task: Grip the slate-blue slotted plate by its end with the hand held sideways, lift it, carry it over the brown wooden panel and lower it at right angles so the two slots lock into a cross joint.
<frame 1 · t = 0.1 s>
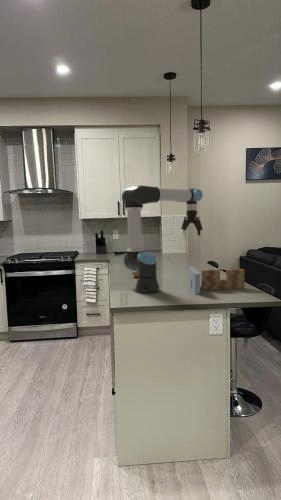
hand: (191, 239, 228), 28 cm above the table, tool pointing down, fingers open, 13 cm apart
slate plate: (194, 289, 195), on the table
vase: (138, 276, 235), on the table
brown wooden panel: (222, 288, 195), on the table
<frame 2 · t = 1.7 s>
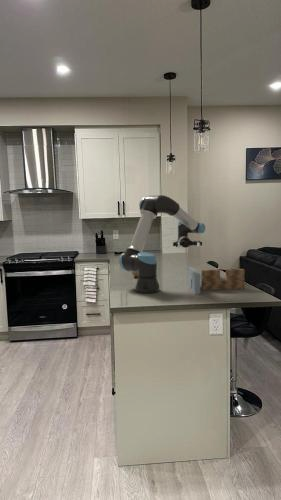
hand: (189, 245, 209), 26 cm above the table, tool horizontal, fingers open, 13 cm apart
nothing on the table moved.
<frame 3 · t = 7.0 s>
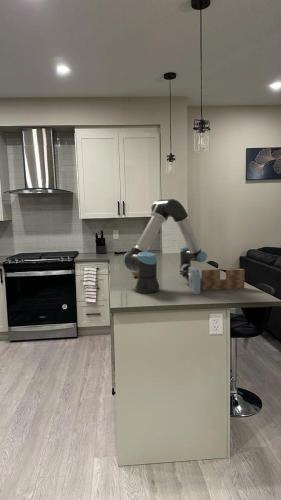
hand: (193, 277, 197), 7 cm above the table, tool horizontal, fingers closed on slate plate, 3 cm apart
slate plate: (193, 289, 195), on the table, touching gripper
everything else where it was.
when the fingers open (8 cm above the table, at t = 14.0 s): slate plate drops 1 cm, on the table.
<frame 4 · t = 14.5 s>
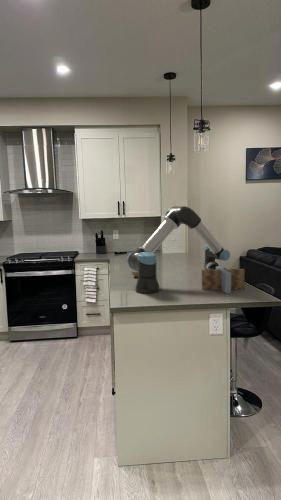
hand: (221, 274, 198), 8 cm above the table, tool horizontal, fingers open, 10 cm apart
slate plate: (222, 288, 195), on the table
everything else where it was.
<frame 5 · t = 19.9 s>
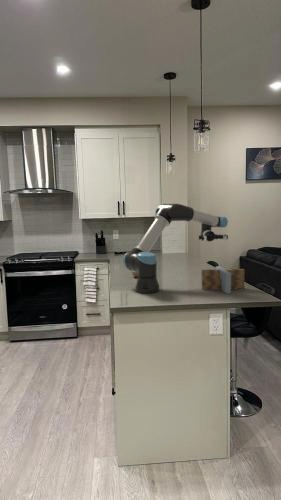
hand: (216, 238, 209), 30 cm above the table, tool horizontal, fingers open, 13 cm apart
nothing on the table moved.
at the end: slate plate 0.1 cm off-centre on the brown wooden panel, point 0.0 cm above the brown wooden panel's base; slate plate tilted 0°; the gripper is holding nothing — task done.
